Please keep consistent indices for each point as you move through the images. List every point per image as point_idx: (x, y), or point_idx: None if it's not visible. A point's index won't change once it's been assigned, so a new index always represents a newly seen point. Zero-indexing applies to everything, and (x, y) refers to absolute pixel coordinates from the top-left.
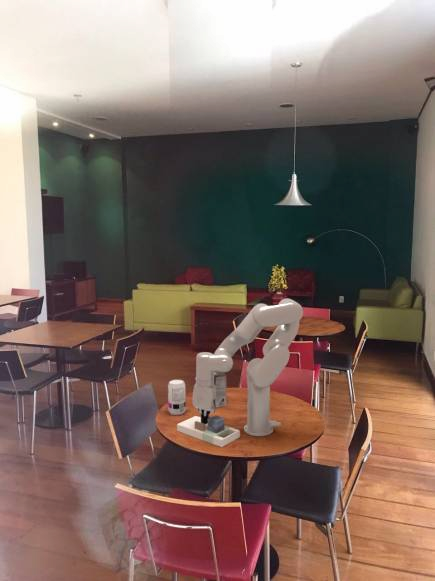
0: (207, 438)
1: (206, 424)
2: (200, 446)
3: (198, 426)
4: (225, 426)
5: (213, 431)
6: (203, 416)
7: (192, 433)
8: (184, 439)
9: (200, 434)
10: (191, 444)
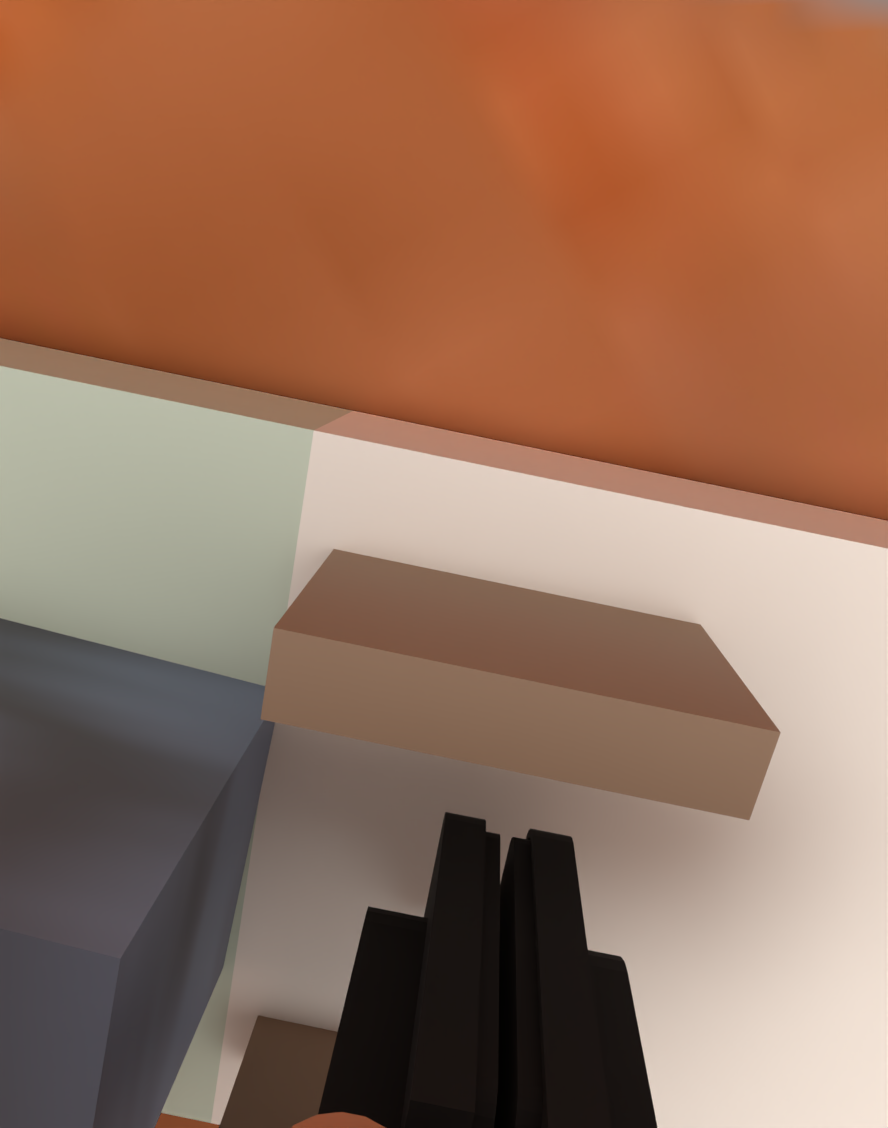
0: (139, 381)
1: None
2: (186, 50)
3: (546, 629)
4: None
5: (34, 639)
6: (428, 1081)
7: (694, 490)
8: (797, 220)
9: (387, 435)
10: (465, 31)
